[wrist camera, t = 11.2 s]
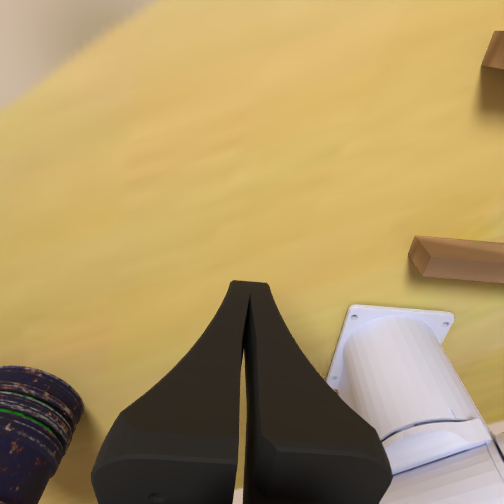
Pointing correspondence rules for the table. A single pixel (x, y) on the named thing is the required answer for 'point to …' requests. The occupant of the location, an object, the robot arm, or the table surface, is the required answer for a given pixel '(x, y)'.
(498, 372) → the table surface
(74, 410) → the storage jar
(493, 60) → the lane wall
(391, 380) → the robot arm
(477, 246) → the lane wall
